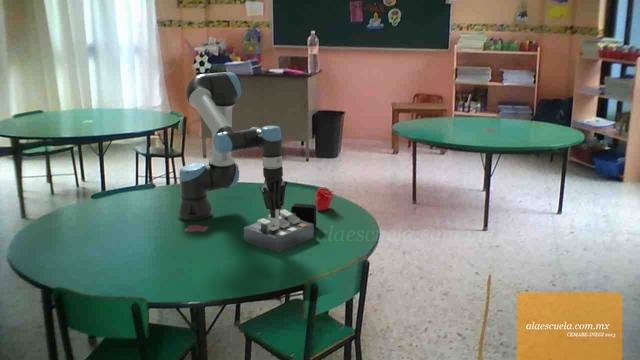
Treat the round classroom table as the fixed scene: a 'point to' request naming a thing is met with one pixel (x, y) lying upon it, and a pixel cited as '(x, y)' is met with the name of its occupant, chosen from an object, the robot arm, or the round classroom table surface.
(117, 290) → the round classroom table surface
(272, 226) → the rocker near
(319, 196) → the heart organ
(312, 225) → the console
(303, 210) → the electronic device
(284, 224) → the rocker mid
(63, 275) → the round classroom table surface
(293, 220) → the rocker far
